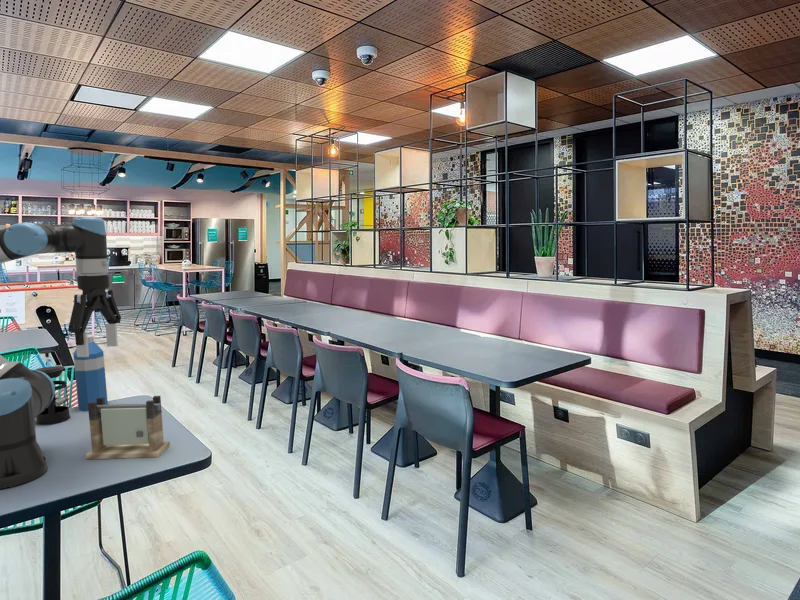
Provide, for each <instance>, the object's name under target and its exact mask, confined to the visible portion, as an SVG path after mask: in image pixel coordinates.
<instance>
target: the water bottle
mask: <svg viewBox="0 0 800 600" xmlns="http://www.w3.org/2000/svg"><path fill="white" fill-rule="evenodd" d="M87 337H88V350H89V357H77V349H75V350H74V352H73V353H72V354H73V362H74V373H75V374H74V376H75V387H76V398H77V409H78V408H79V409H78V411H79V412H89V410H88V403H89V402H96V403H97V401H96V398H98V397H105V405H109V403H108V390H107V379H106V367H105V355H104V351H103V349H102V348H101V347H100V346H99V345H98V344H97V343H96V342H95V336H94V335H87Z"/></svg>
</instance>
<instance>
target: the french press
mask: <svg viewBox="0 0 800 600" xmlns="http://www.w3.org/2000/svg"><path fill="white" fill-rule="evenodd" d="M52 353H55V350H54V349H53V350H51V349H49V350H42V351H39V352H38V354H40V355H41V354H42V355H43V354H44V355H45V356H44V357H45V358H46V365H47V366H46V367H40V368H36V369H35V370H38V371H41V372H44V373H45V374H47V375H48V376H49V377H50V378H51V379H55V378H58V377H60V376H61V374H62V373H63V371H64V370H65V369H66V367H65V366H61V365H60V366H59V365H58V366H57V365H54V366H49V365H50V363H49V357H50V354H52ZM52 381H53V383H54V386H55V392H56V391H59V390H63V389H65V394H66V395H65V396H66V397H62V396H57V397H56V393H55V394H54V398H53V400H52V401H51V403H50V405H49V406H48V407H47V408H46V409H45V410H44V411H43V412H41V413H40V414H39V415H38V416H37V417H36V418H35V419H36V420H35V425H38V426H50V425H57V424H62V423H63V422H66V421H68V420H69V419H71V415H70V408H69V407H70V406H69V397H68V388H67V387H68V386H67V381H65V380H52ZM65 402H66V405H61V404H63V403H65Z"/></svg>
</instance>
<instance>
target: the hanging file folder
mask: <svg viewBox="0 0 800 600" xmlns="http://www.w3.org/2000/svg"><path fill="white" fill-rule="evenodd" d="M154 407H155V411H159V410H160V409H161V410H162V402H161V403H154ZM97 412H101V421H102V432H103V444H104V445H132V444H149V435H148V422H147V409H146V403H128V404H127V403H125V404H123V403H122V404H120V403H119V404H118V403H117V404H108V405H97Z"/></svg>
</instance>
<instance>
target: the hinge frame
mask: <svg viewBox="0 0 800 600" xmlns="http://www.w3.org/2000/svg"><path fill="white" fill-rule="evenodd" d="M161 398H162V397H161V395H154V396H152V399H151V400H147V401H145V404H146V409H147V422H148V435H149V444H132V445H104V444H103V432H102V421H101V412H97V405H105V397H98V398H96V401H97V403H96V402H89V403H88V410H89V411H88V421H89V430H90V431H89V432H90V443H91V450H90V451H88V452H87V453H86V454H84V455H85V460H94V459H95V460H99V459H100V460H101V459H102V460H103V459H105V460H106V459H107V460H108V459H130V458H131V459H133V458H136V459H137V458H141V459H143V458H159V457H160V456H161V455H162V454H164V452H165V451H166V450H167V449H168V448H169V447H170V446H171V443H170V440H169V441H168V440H165V439H164V428H163V427H164V426H163V415H162V412H163V411H162V408H161V409H160V410H159V411H155V407H154V403H161V404H162V400H161ZM169 445H170V446H169ZM168 446H169V447H168Z"/></svg>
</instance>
